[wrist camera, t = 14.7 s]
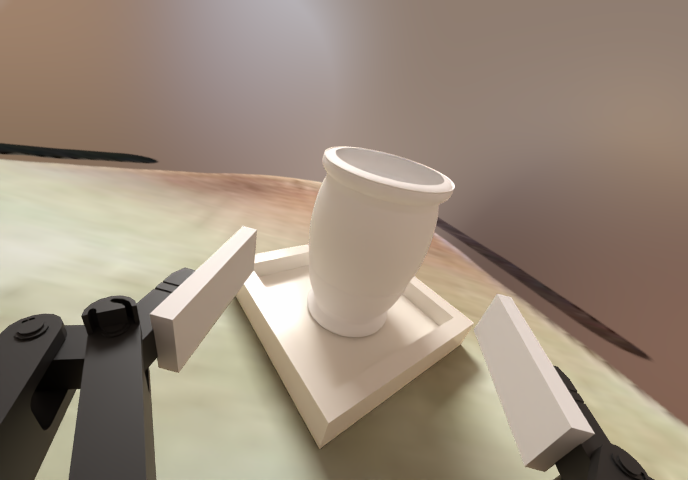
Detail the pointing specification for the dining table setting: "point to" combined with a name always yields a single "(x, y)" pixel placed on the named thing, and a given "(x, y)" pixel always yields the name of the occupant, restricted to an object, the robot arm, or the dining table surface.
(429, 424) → the dining table surface
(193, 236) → the dining table surface
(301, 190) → the dining table surface
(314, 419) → the white square tray
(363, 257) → the jar
